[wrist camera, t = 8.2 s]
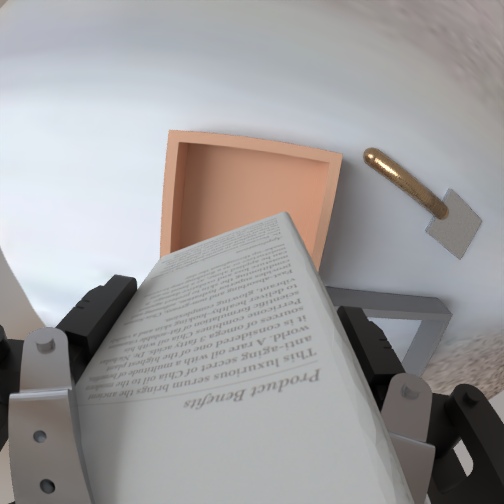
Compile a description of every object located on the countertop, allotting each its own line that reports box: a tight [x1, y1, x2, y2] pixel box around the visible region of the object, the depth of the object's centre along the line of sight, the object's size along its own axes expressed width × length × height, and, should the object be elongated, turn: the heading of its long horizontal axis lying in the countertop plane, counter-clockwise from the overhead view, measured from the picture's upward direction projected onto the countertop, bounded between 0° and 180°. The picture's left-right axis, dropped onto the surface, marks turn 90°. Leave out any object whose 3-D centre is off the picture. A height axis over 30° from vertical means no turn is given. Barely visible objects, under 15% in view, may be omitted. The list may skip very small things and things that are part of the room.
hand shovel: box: [363, 148, 482, 259], centre depth 23 cm, size 16×5×2 cm, turn 62°
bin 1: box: [160, 130, 343, 271], centre depth 22 cm, size 12×12×4 cm
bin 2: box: [325, 287, 453, 377], centre depth 29 cm, size 14×24×4 cm, turn 172°
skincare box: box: [75, 211, 414, 504], centre depth 7 cm, size 6×4×12 cm
